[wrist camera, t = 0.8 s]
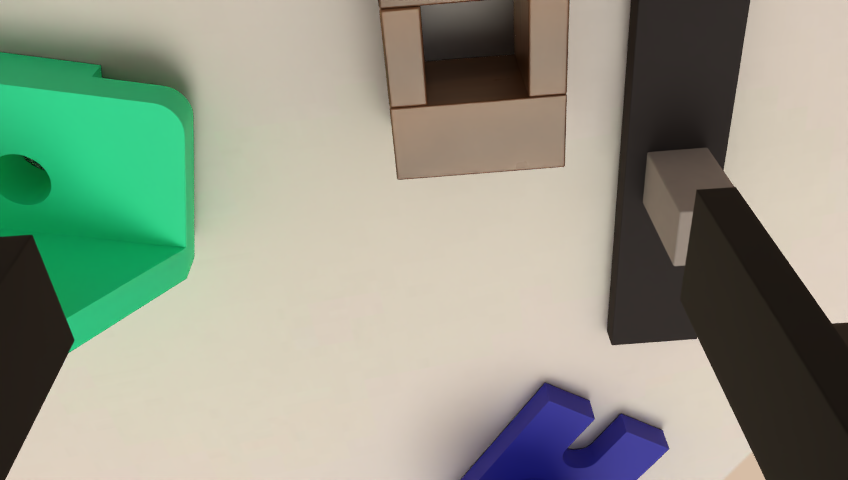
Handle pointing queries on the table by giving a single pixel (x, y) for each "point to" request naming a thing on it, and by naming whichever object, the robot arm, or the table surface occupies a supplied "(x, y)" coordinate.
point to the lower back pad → (667, 116)
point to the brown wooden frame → (477, 95)
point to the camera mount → (97, 184)
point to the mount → (567, 444)
